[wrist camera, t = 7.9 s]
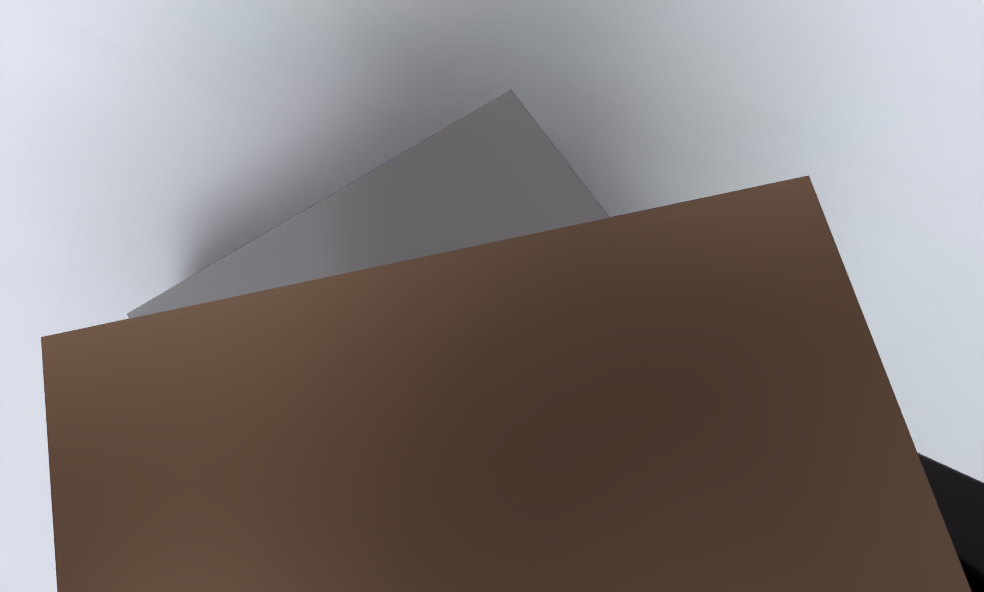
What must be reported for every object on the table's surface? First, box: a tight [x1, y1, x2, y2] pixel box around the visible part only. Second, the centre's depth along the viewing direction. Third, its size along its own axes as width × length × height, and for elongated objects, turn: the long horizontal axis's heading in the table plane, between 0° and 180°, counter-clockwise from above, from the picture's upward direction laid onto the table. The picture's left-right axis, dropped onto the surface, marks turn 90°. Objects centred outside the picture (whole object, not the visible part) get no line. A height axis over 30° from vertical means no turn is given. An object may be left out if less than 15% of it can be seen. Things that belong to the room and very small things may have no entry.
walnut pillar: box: [41, 176, 972, 592], centre depth 9 cm, size 6×6×10 cm
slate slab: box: [127, 90, 609, 319], centre depth 18 cm, size 12×12×3 cm
